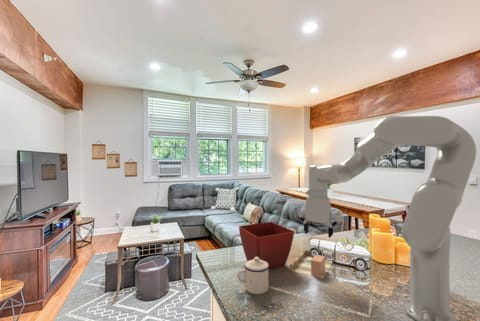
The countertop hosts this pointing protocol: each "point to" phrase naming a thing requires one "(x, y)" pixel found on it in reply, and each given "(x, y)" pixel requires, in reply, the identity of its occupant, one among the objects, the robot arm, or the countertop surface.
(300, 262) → the cream flat slab
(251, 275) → the teacup with lid
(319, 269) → the rust block
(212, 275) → the countertop surface
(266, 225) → the plant pot
